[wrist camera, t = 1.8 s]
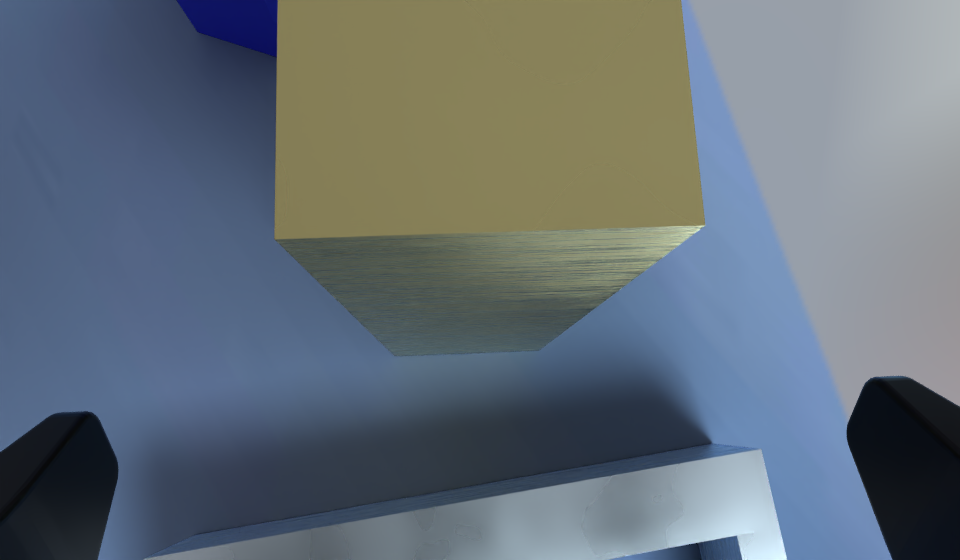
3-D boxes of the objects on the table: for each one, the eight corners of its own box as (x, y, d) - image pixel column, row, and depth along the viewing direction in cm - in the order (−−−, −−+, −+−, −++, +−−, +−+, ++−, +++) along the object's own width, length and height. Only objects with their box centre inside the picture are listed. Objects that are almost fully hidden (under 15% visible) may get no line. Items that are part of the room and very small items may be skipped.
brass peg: (538, 350, 19) (704, 225, 7) (394, 356, 19) (274, 239, 6) (530, 212, 20) (665, -144, 7) (392, 216, 20) (279, -140, 7)
